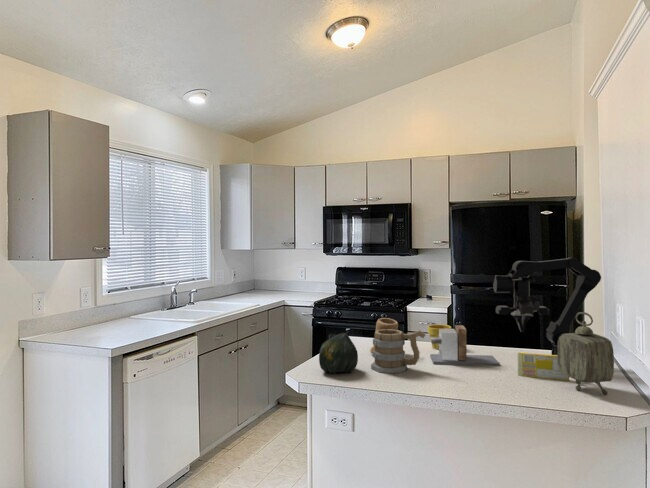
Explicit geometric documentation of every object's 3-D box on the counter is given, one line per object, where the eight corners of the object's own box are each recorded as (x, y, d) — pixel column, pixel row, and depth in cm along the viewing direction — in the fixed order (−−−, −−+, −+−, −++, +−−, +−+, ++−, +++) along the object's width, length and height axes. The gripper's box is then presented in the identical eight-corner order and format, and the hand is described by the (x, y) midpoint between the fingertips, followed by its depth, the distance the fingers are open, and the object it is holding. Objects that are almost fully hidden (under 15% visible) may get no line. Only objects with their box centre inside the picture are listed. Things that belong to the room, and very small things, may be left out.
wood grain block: (462, 355, 183) (462, 325, 183) (466, 360, 175) (466, 329, 175) (430, 354, 185) (430, 324, 185) (432, 359, 177) (432, 328, 177)
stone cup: (395, 358, 185) (395, 322, 185) (367, 356, 189) (367, 320, 189) (401, 349, 199) (401, 316, 199) (375, 348, 203) (375, 315, 203)
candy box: (568, 379, 155) (568, 355, 155) (569, 381, 153) (569, 357, 153) (517, 374, 162) (517, 351, 162) (517, 375, 160) (517, 352, 160)
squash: (305, 355, 169) (325, 329, 162) (332, 350, 179) (351, 325, 173) (325, 387, 161) (347, 360, 155) (352, 379, 172) (373, 354, 166)
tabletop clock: (614, 396, 137) (613, 315, 137) (589, 399, 135) (588, 316, 135) (578, 382, 151) (577, 308, 151) (555, 384, 150) (554, 309, 150)
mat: (492, 357, 184) (492, 355, 184) (499, 365, 172) (499, 363, 172) (430, 356, 187) (430, 354, 187) (433, 364, 175) (433, 361, 175)
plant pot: (426, 349, 199) (425, 327, 199) (429, 344, 209) (429, 323, 209) (450, 351, 195) (450, 329, 195) (452, 346, 205) (452, 325, 205)
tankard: (368, 371, 166) (368, 331, 166) (376, 362, 178) (376, 325, 178) (423, 376, 159) (422, 334, 159) (427, 367, 171) (427, 328, 171)
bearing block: (454, 355, 184) (453, 328, 184) (457, 361, 175) (457, 333, 175) (439, 355, 185) (438, 328, 185) (441, 360, 176) (441, 333, 176)
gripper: (502, 294, 170) (502, 335, 170) (554, 295, 167) (554, 336, 167) (495, 291, 181) (495, 330, 181) (543, 292, 178) (544, 331, 178)
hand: (522, 332), depth 177 cm, fingers closed
